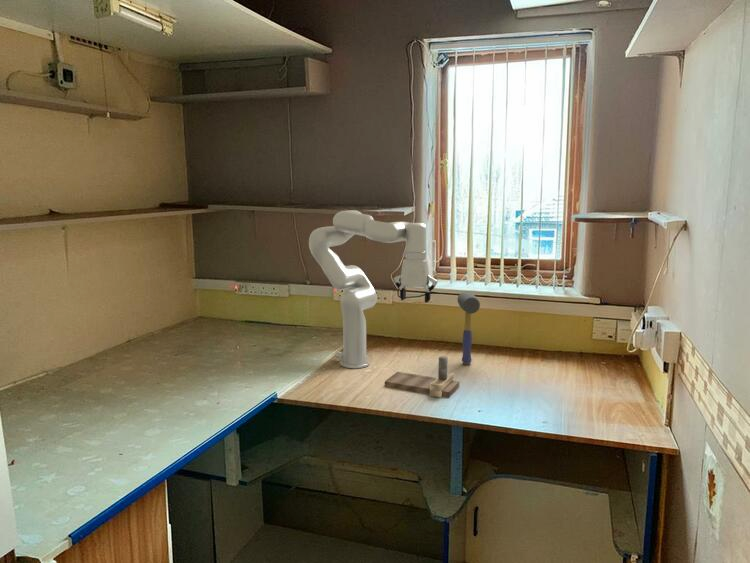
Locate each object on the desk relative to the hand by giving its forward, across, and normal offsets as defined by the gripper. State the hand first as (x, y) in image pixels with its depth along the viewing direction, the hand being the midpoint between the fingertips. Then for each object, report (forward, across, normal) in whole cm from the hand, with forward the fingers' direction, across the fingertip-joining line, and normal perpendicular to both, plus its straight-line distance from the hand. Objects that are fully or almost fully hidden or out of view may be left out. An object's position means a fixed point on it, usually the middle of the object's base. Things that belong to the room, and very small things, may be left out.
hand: (415, 300), depth 218 cm
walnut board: (+30, +6, -8) cm, 32 cm away
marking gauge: (+30, +14, -8) cm, 35 cm away
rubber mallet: (+31, +14, +24) cm, 41 cm away
